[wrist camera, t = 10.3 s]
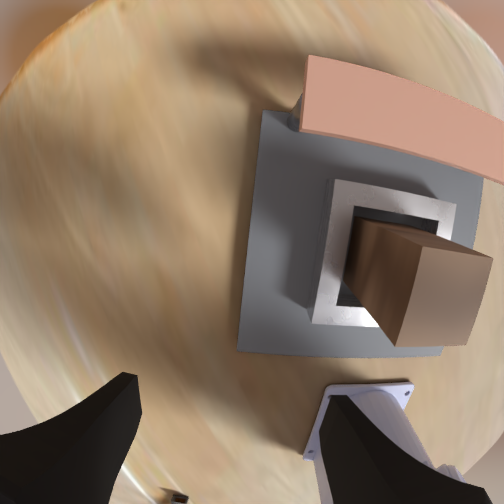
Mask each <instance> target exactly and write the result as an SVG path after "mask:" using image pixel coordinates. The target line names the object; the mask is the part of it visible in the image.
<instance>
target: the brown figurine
mask: <svg viewBox="0 0 504 504" xmlns="http://www.w3.org/2000/svg"><path fill="white" fill-rule="evenodd" d="M188 499H189V498H188V497H182V496H175V495H173V497H172V499H171V504H187V502H188Z"/></svg>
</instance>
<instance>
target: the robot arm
mask: <svg viewBox="0 0 504 504" xmlns="http://www.w3.org/2000/svg"><path fill="white" fill-rule="evenodd" d="M413 389H414V384H413V383H412V382H401V383H384V384H352V385H330V386H328V387H327V388H326V389H325V393H324V396H323V399H322V402H321V405H320V408H319V411H318V414H317V417H316V420H315V423H314V426H313V429H312V432H311V434H310V437H309V440H308V443H307V446H306V448H305V451H304V454H303V459H304V460H306V461H311V460H313V461H314V466H315V471H316V477H317V482H318V488H319V494H320V499H321V504H492V502H491V500H490V498H489V496H488V495H487V493H486V491H485V490H484V488H481V487H477V486H474V485H471V484H467V483H466V481H465V480H464V478H463V477H462V475H461V474H460V472H459V471H458V469H457V468H456V467H455V466H452V465H448V466H447V465H446V464H443V465H441V466H440V467H438V468H437V469H436V468H435V467H434V466H433V464H432V462H431V460H430V458H429V457H428V455H427V453H426V451H425V449H424V447H423V445H422V443H421V442H420V440H419V438H418V436H417V434H416V432H415V431H414V429H413V427H412V425H411V423H410V422H409V420H408V418H407V416H406V414H405V413H404V411H403V410H404V408H405V406H406V404H407V402H408V400H409V398H410V396H411V394H412V391H413ZM407 391H408V392H407ZM329 395H331V396H329ZM141 415H142V408H141V401H140V394H139V386H138V377H137V375H134V374H130V373H125V372H122V373H120V374H119V375H117V376H116V377H115V378H113V379H112V380H111V381H109V382H108V383H107V384H105V385H104V386H103V387H101V388H100V389H99V390H97V391H96V392H94V393H93V394H91V395H90V396H89V397H87V398H86V399H84V400H83V401H81V402H80V403H78V404H76V405H75V406H73V407H72V408H70V409H68V410H67V411H65V412H63V413H61V414H59V415H57V416H55V417H53V418H51V419H49V420H47V421H45V422H42V423H40V424H37V425H34V426H32V427H29V428H26V429H23V430H20V431H16V432H12V433H8V434H3V435H0V504H109V500H110V496H111V493H112V489H113V486H114V483H115V480H116V478H117V475H118V473H119V471H120V469H121V466H122V464H123V462H124V460H125V457H126V455H127V453H128V451H129V449H130V446H131V444H132V442H133V440H134V437H135V435H136V432H137V429H138V426H139V422H140V419H141Z"/></svg>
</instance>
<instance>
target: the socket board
mask: <svg viewBox="0 0 504 504" xmlns="http://www.w3.org/2000/svg"><path fill="white" fill-rule="evenodd" d="M484 178H486V179H489V180H491V181H494V182H497V183H499V184H502V185H504V122H503V121H501V120H500V119H498V118H496V117H494V116H492V115H490V114H488V113H486V112H484V111H482V110H480V109H478V108H476V107H474V106H472V105H470V104H468V103H465V102H463V101H461V100H459V99H456V98H454V97H452V96H449V95H447V94H445V93H442V92H440V91H437V90H435V89H432V88H430V87H427V86H424V85H421V84H419V83H416V82H413V81H410V80H407V79H404V78H401V77H398V76H395V75H392V74H388V73H385V72H382V71H378V70H375V69H371V68H367V67H364V66H360V65H356V64H352V63H347V62H343V61H339V60H334V59H329V58H324V57H319V56H314V55H308V57H307V59H306V62H305V72H304V83H303V93H302V94H301V96H300V98H299V99H298V101H297V103H296V105H295V106H294V108H293V110H292V111H291V113H287V112H280V111H272V110H263V113H262V122H261V131H260V140H259V149H258V158H257V167H256V176H255V185H254V194H253V203H252V212H251V221H250V230H249V239H248V249H247V258H246V267H245V276H244V286H243V295H242V304H241V314H240V323H239V333H238V342H237V351H241V352H251V353H263V354H275V355H290V356H308V357H334V358H400V357H425V356H440V355H441V352H442V350H443V347H444V346H433V347H394V345H393V344H392V343H391V341H390V340H389V339H388V337H387V336H386V335H385V333H384V332H383V331H382V330H381V328H380V327H379V326H378V324H377V323H376V322H375V320H374V319H373V318H372V317H371V315H370V314H369V313H368V312H367V310H366V309H365V308H364V306H363V305H362V304H361V303H360V301H359V300H358V299H357V298H356V296H355V295H354V294H353V293H352V291H351V290H350V289H349V288H348V286H347V285H346V284H345V283H344V282H343V276H344V271H345V266H346V261H347V256H348V251H349V245H350V240H351V234H352V228H353V222H354V216H358V217H364V218H370V219H376V220H382V221H388V222H393V223H399V224H405V225H410V226H413V227H416V228H419V229H421V230H424V231H427V232H429V233H432V234H435V235H437V236H440V237H442V238H445V239H448V240H450V241H453V242H455V243H458V244H460V245H463V246H465V247H467V248H470V249H472V250H473V245H474V240H475V235H476V230H477V224H478V218H479V211H480V204H481V197H482V188H483V179H484Z"/></svg>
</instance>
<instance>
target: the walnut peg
mask: <svg viewBox="0 0 504 504" xmlns="http://www.w3.org/2000/svg"><path fill="white" fill-rule="evenodd" d="M492 262H493V258H491V257H489V256H486V255H484V254H482V253H479V252H477V251H475V250H472V249H470V248H467V247H465V246H463V245H460V244H458V243H455V242H453V241H450V240H448V239H445V238H442V237H440V236H437V235H435V234H432V233H429V232H427V231H424V230H421V229H419V228H416V227H413V226H410V225H405V224H399V223H393V222H388V221H382V220H376V219H370V218H364V217H358V216H354V222H353V228H352V234H351V240H350V245H349V251H348V256H347V261H346V266H345V271H344V276H343V282H344V283H345V284H346V285H347V286H348V288H349V289H350V290H351V291H352V293H353V294H354V295H355V296H356V298H357V299H358V300H359V301H360V303H361V304H362V305H363V306H364V308H365V309H366V310H367V312H368V313H369V314H370V315H371V317H372V318H373V319H374V320H375V322H376V323H377V324H378V326H379V327H380V328H381V330H382V331H383V332H384V333H385V335H386V336H387V337H388V339H389V340H390V341H391V343H392V344H393V345H394V347H433V346H457V345H466V344H467V341H468V338H469V336H470V333H471V331H472V328H473V325H474V322H475V319H476V317H477V314H478V311H479V308H480V305H481V301H482V298H483V295H484V292H485V288H486V285H487V281H488V277H489V274H490V270H491V266H492Z"/></svg>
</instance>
